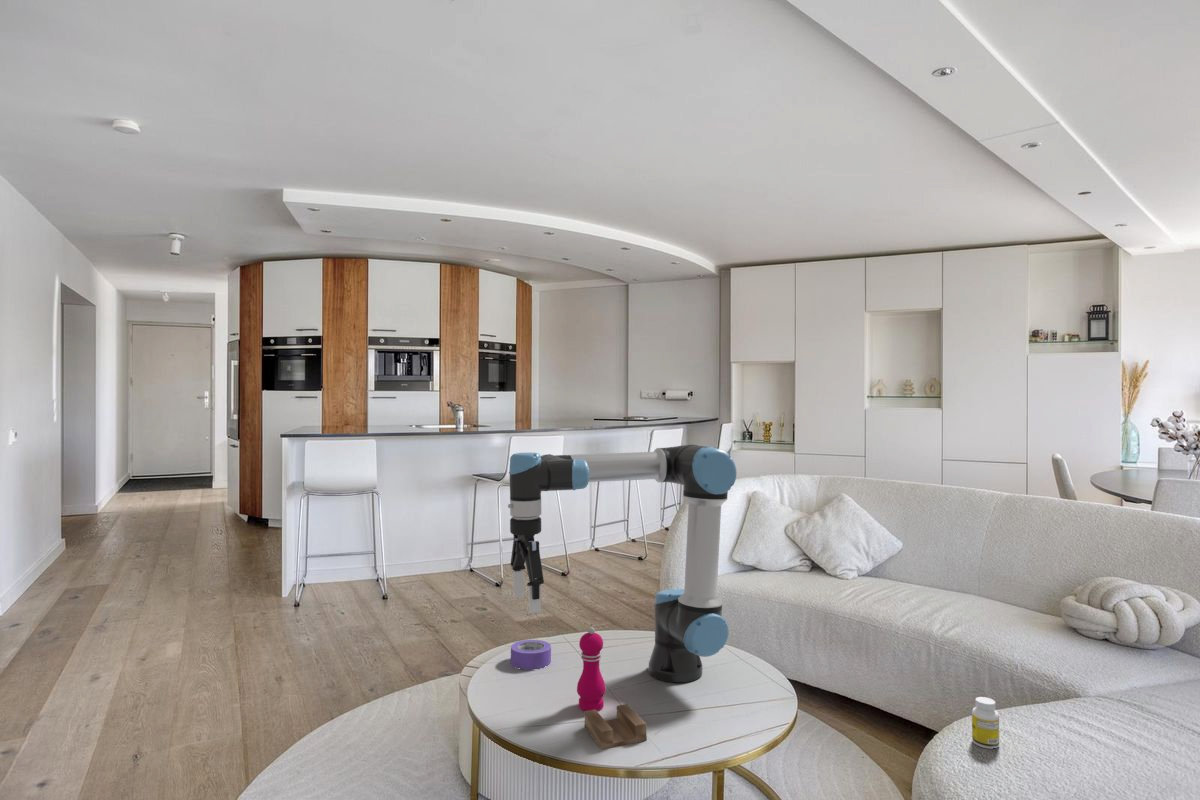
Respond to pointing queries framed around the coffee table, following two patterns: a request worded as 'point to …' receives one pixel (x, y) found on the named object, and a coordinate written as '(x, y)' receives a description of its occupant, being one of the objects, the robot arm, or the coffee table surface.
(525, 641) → the tape roll
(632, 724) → the cradle
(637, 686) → the coffee table surface
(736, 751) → the coffee table surface
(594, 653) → the pepper mill
